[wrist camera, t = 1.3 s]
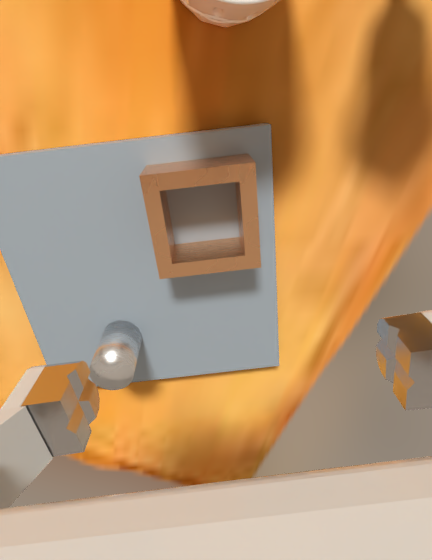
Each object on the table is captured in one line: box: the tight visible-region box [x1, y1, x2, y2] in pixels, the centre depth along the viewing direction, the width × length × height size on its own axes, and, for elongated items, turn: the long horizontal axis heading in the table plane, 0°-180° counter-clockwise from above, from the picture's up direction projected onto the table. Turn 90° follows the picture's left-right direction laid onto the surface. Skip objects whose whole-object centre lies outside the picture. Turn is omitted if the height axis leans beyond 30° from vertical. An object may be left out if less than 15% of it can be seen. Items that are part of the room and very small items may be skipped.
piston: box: [89, 321, 142, 390], centre depth 29 cm, size 3×3×4 cm
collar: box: [139, 153, 261, 279], centre depth 24 cm, size 7×7×4 cm
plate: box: [0, 123, 279, 386], centre depth 29 cm, size 20×20×2 cm
